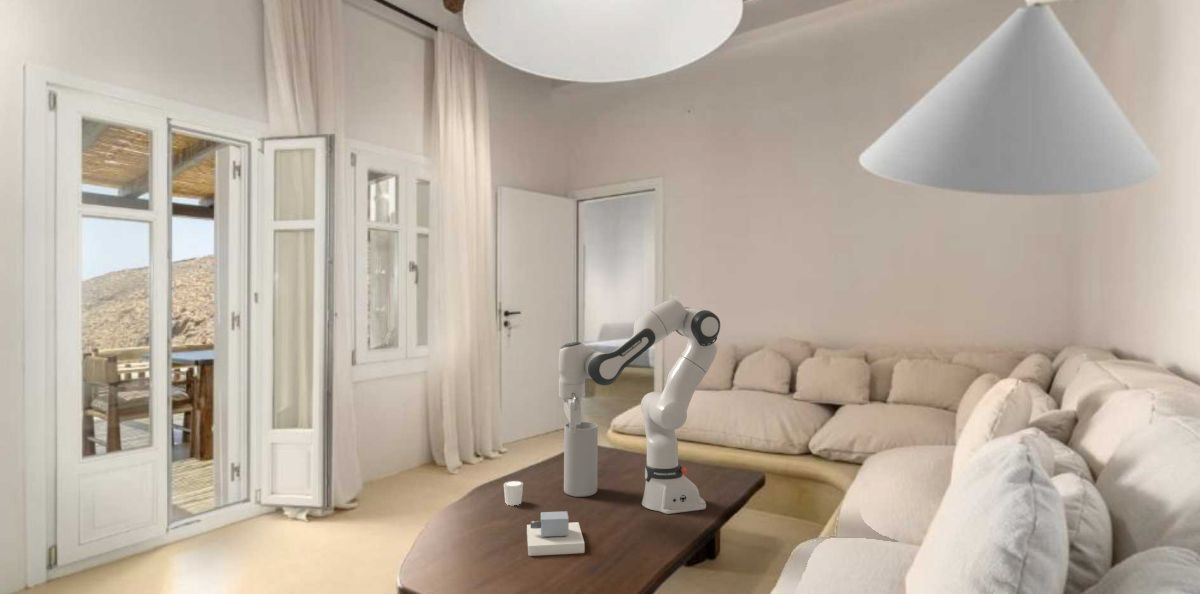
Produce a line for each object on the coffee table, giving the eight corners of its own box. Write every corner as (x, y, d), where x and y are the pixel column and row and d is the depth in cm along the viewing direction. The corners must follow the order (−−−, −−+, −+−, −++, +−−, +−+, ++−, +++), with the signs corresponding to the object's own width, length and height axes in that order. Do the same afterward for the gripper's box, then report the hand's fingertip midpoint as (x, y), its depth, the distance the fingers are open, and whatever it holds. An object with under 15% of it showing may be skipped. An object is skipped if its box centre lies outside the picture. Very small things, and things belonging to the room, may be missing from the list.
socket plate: (578, 531, 189) (578, 519, 189) (584, 552, 174) (584, 540, 173) (526, 533, 187) (526, 522, 187) (528, 555, 171) (528, 543, 171)
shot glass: (519, 507, 210) (519, 487, 210) (500, 505, 211) (500, 485, 211) (525, 500, 217) (525, 481, 217) (507, 499, 218) (507, 479, 218)
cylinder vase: (598, 487, 232) (599, 422, 232) (595, 498, 220) (595, 429, 220) (566, 486, 234) (567, 421, 233) (561, 496, 221) (561, 428, 221)
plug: (566, 537, 184) (567, 511, 184) (568, 545, 178) (568, 518, 178) (530, 539, 182) (530, 512, 182) (530, 547, 176) (530, 520, 176)
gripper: (585, 396, 192) (586, 439, 192) (577, 386, 212) (578, 425, 213) (565, 396, 191) (566, 440, 191) (559, 386, 211) (560, 426, 212)
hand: (572, 432), depth 202 cm, fingers closed
